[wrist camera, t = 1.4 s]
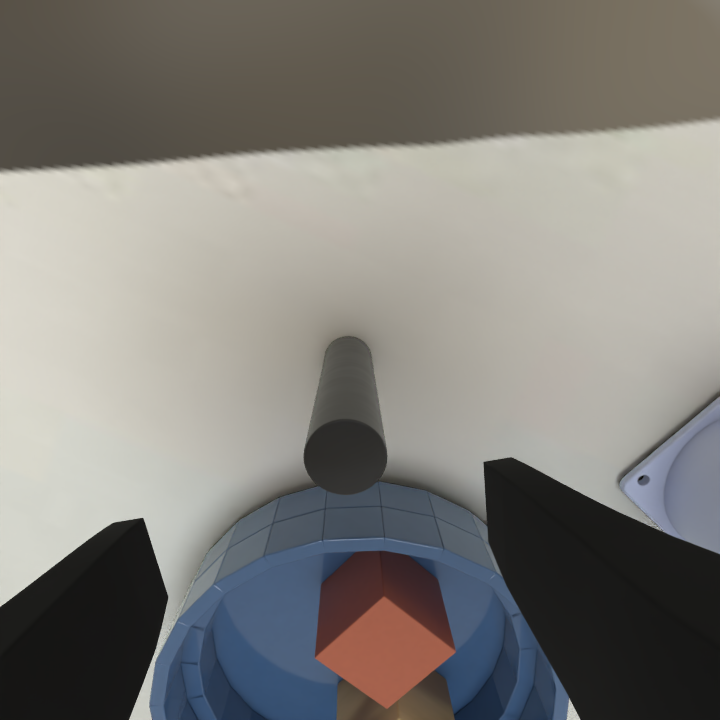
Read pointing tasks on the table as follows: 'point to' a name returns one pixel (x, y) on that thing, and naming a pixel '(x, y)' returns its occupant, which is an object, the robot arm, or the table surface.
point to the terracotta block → (382, 624)
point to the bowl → (301, 607)
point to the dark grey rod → (346, 422)
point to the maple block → (398, 702)
